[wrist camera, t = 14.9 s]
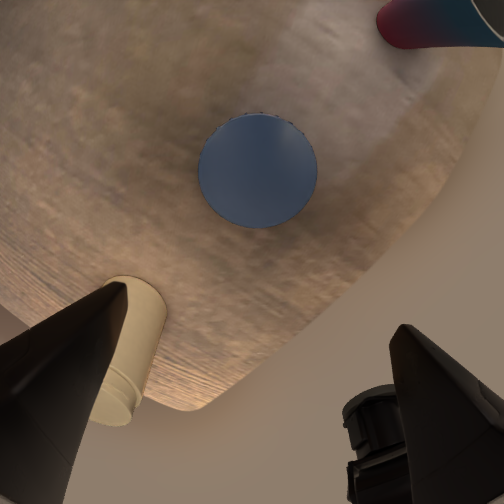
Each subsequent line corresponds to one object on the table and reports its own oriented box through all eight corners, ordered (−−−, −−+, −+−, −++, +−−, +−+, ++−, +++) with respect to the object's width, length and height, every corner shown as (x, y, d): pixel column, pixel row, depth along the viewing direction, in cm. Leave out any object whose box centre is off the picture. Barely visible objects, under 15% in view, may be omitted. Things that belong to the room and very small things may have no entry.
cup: (387, -14, 12) (476, -63, 3) (436, 31, 13) (541, 17, 4) (355, 25, 13) (443, -23, 5) (408, 70, 15) (518, 70, 6)
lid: (251, 89, 16) (251, 88, 14) (333, 163, 18) (342, 170, 16) (180, 173, 18) (173, 181, 17) (261, 236, 20) (262, 250, 19)
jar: (168, 283, 22) (129, 390, 13) (166, 338, 25) (140, 436, 16) (96, 268, 22) (35, 359, 13) (103, 324, 25) (62, 412, 16)
